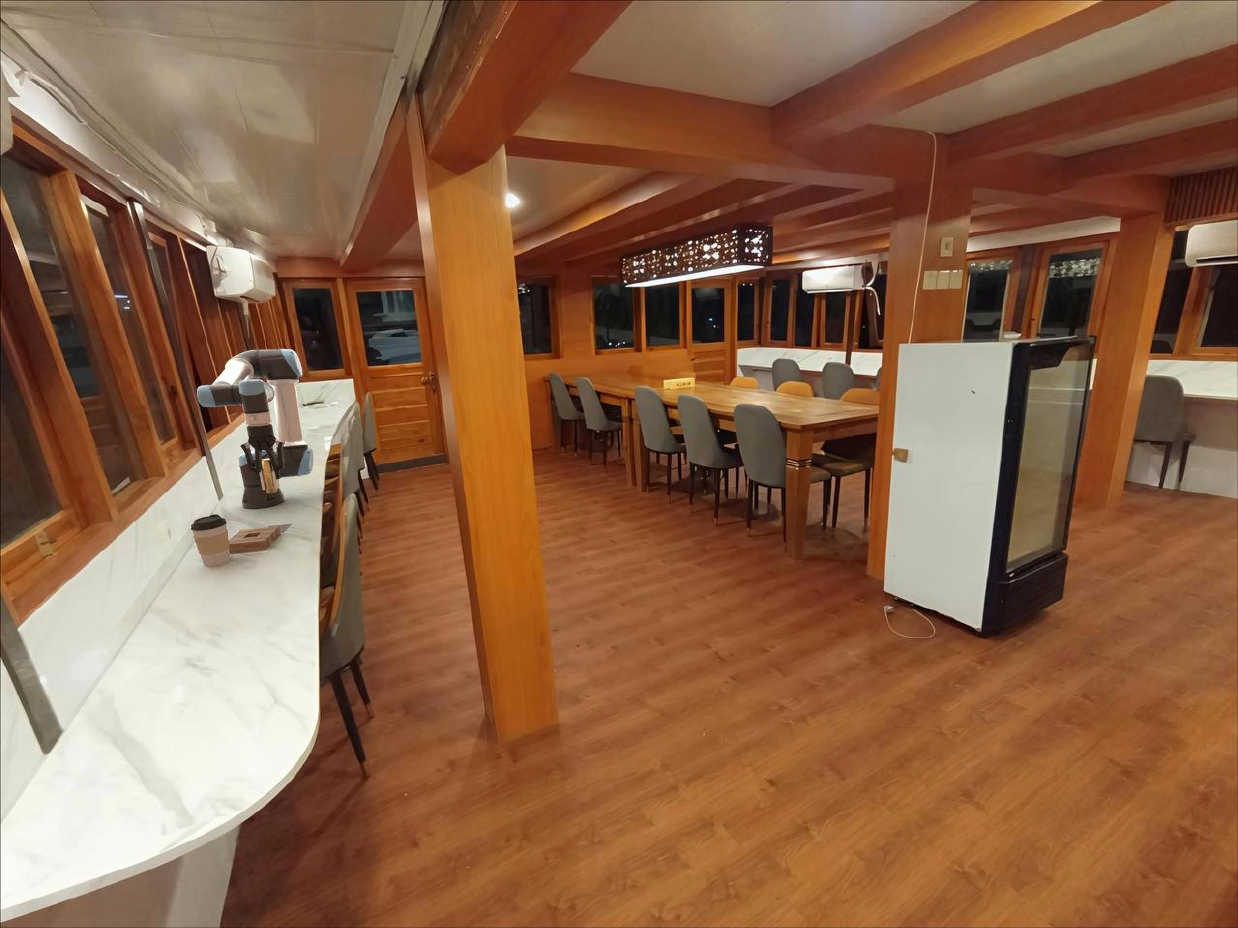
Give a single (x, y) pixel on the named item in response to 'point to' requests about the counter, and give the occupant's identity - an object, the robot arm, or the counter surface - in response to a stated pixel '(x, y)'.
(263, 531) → the hole block
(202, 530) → the coffee cup
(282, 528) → the mat
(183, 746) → the counter surface
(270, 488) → the peg
